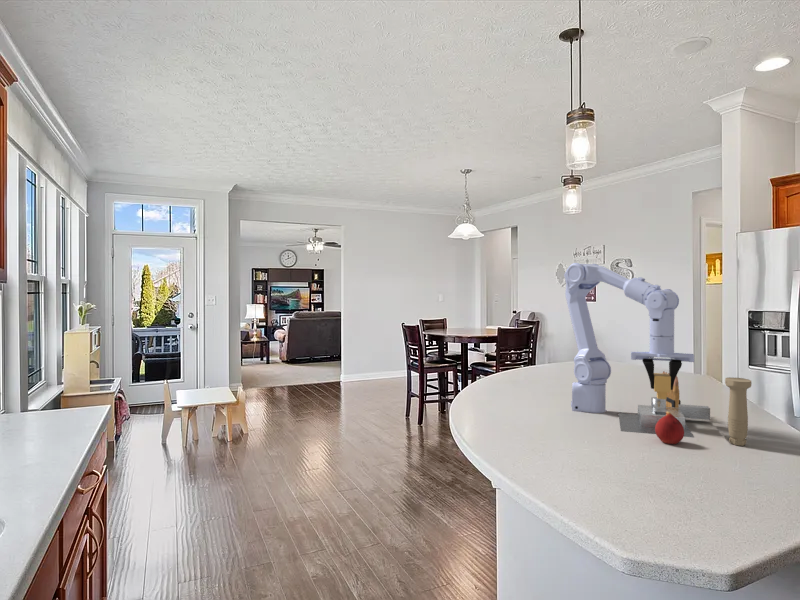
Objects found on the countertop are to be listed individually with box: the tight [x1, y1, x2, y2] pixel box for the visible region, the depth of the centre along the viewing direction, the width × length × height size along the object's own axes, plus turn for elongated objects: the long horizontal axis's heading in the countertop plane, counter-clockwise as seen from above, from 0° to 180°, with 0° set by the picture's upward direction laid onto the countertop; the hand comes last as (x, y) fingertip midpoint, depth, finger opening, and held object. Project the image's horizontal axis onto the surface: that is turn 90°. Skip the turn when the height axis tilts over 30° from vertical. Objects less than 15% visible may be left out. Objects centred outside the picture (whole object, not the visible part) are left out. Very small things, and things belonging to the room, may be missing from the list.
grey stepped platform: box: [617, 396, 711, 438], centre depth 135 cm, size 22×21×6 cm
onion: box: [655, 412, 685, 445], centre depth 119 cm, size 6×6×8 cm
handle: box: [724, 377, 752, 447], centre depth 121 cm, size 5×6×15 cm
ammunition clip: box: [662, 370, 682, 408], centre depth 152 cm, size 11×2×12 cm, turn 174°
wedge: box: [653, 372, 671, 399], centre depth 136 cm, size 4×6×6 cm, turn 159°
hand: (661, 388), depth 136 cm, fingers closed on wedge, 4 cm apart
